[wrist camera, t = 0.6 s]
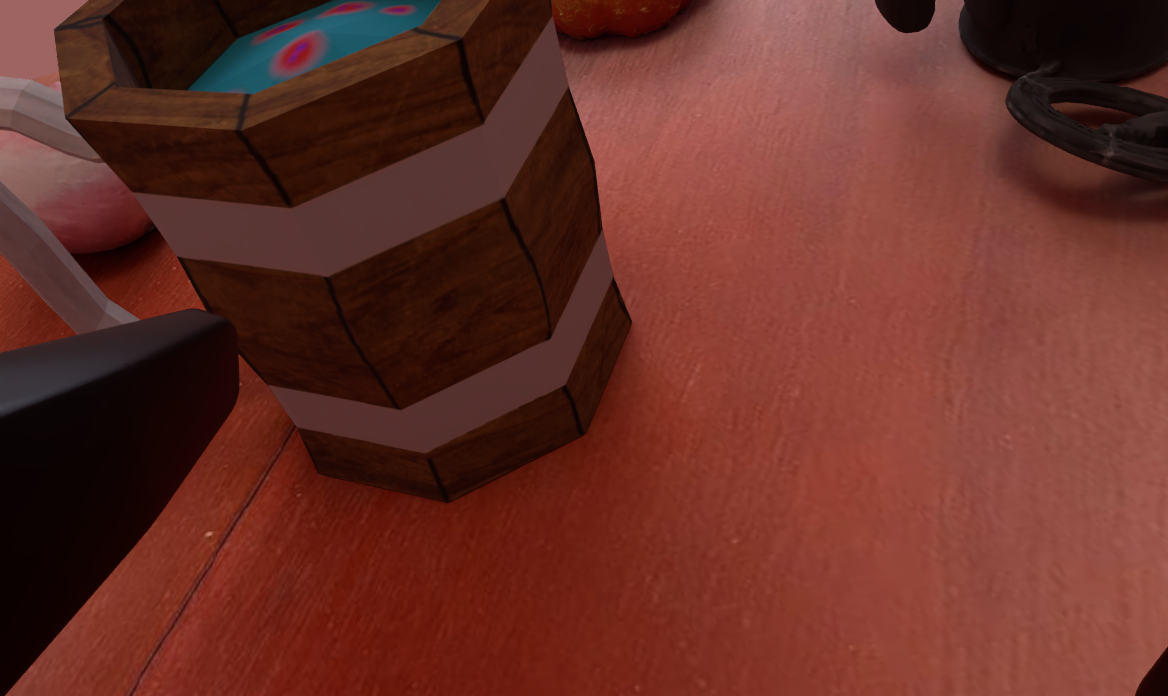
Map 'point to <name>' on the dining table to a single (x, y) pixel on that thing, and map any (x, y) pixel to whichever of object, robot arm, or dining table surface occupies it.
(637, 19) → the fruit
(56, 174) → the turnip
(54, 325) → the dining table surface
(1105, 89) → the milk frother
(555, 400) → the mug
